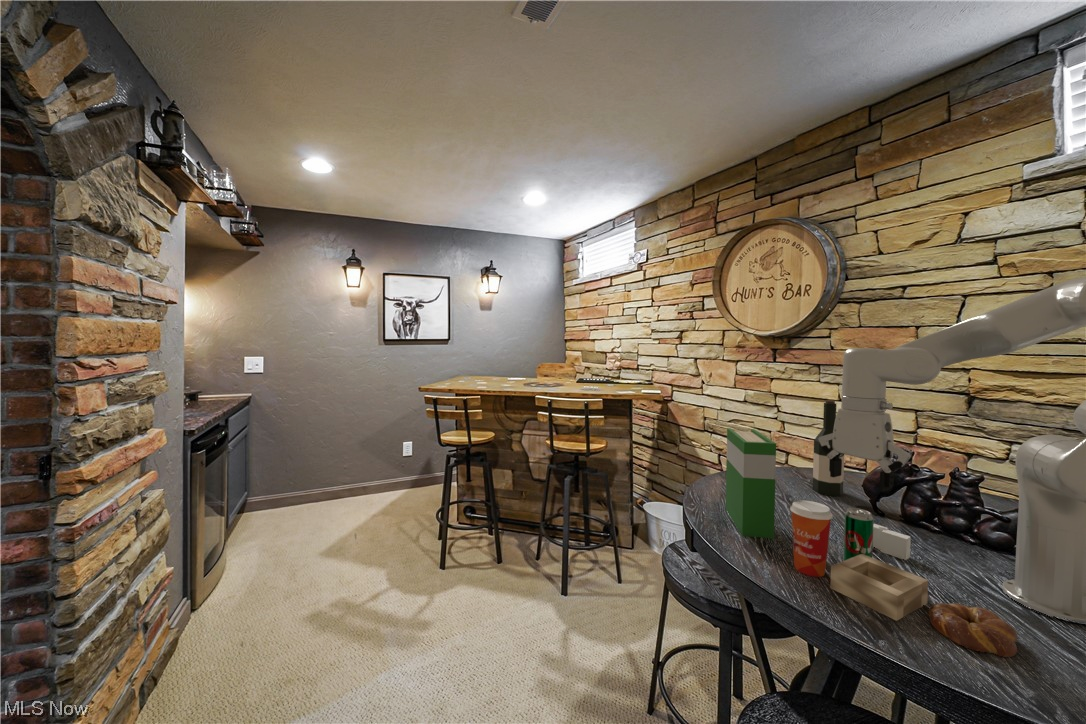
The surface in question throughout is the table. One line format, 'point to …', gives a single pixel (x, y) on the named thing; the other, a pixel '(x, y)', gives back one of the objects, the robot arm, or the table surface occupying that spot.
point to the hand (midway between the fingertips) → (859, 482)
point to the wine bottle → (820, 460)
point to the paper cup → (810, 536)
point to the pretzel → (974, 628)
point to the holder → (879, 586)
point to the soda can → (858, 533)
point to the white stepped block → (891, 542)
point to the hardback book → (751, 482)
